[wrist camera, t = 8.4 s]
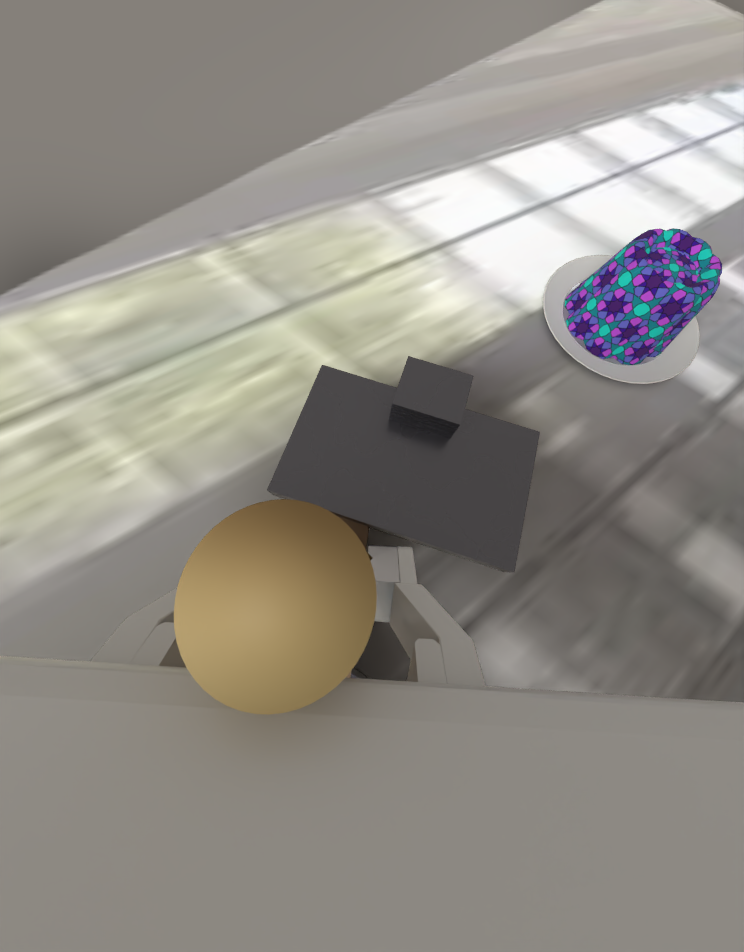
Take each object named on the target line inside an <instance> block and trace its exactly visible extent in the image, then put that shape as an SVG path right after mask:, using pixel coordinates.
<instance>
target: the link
mask: <svg viewBox="0 0 744 952" xmlns="http://www.w3.org/2000/svg"><path fill="white" fill-rule="evenodd" d="M368 530H369V527H368V526H365V525H362V524H359V523H356V522H353V521H350V520H347V519H344V518H341V517H338V516H336V515H335V514H333V513H332V512H330V511H328V510H326V509H324V508H322V507H320V506H318V505H315V504H312V503H309V502H304V501H299V500H288V499H281V500H270V501H265V502H260V503H257V504H253V505H250V506H247V507H245V508H243V509H241V510H239V511H237V512H235V513H233V514H232V515H230V516H228V517H227V518H225V519H224V520H223V521H221V522H220V523H219V524H217V525H216V526H215V527H214V528H213V529H212V530H211V531H210V532H209V533H208V534H207V535H206V536H205V537H204V538H203V539H202V541H201V542H200V543H199V544H198V546H197V547H196V548H195V550H194V551H193V553H192V555H191V556H190V558H189V560H188V562H187V564H186V566H185V568H184V570H183V572H182V575H181V578H180V581H179V584H178V588H177V592H176V597H175V605H174V629H175V636H176V642H177V645H178V648H179V651H180V655H181V657H182V659H183V661H184V663H185V665H186V668H187V669H188V671H189V672H190V674H191V675H192V677H193V678H194V680H195V681H196V682H197V683H198V684H199V685H200V686H201V687H202V689H203V690H204V691H206V692H207V693H208V694H209V695H211V696H212V697H213V698H214V699H216V700H217V701H219V702H221V703H223V704H225V705H226V706H228V707H231V708H234V709H236V710H239V711H243V712H248V713H252V714H267V715H270V714H279V713H286V712H290V711H293V710H297V709H300V708H302V707H305V706H307V705H309V704H312V703H314V702H315V701H317V700H319V699H320V698H322V697H324V696H325V695H326V694H328V693H329V692H330V691H332V690H333V689H334V688H335V687H337V686H338V685H339V684H340V683H341V682H342V681H343V680H344V679H345V678H350V677H351V670H352V669H353V667H354V666H355V665H356V663H357V662H358V660H359V658H360V657H361V655H362V653H363V652H364V649H365V647H366V645H367V642H368V640H369V638H370V635H371V631H372V628H373V625H374V619H375V613H376V602H377V591H376V581H375V576H374V571H373V567H372V564H371V561H370V558H369V556H368V554H367V552H366V546H367V538H368Z"/></svg>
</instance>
